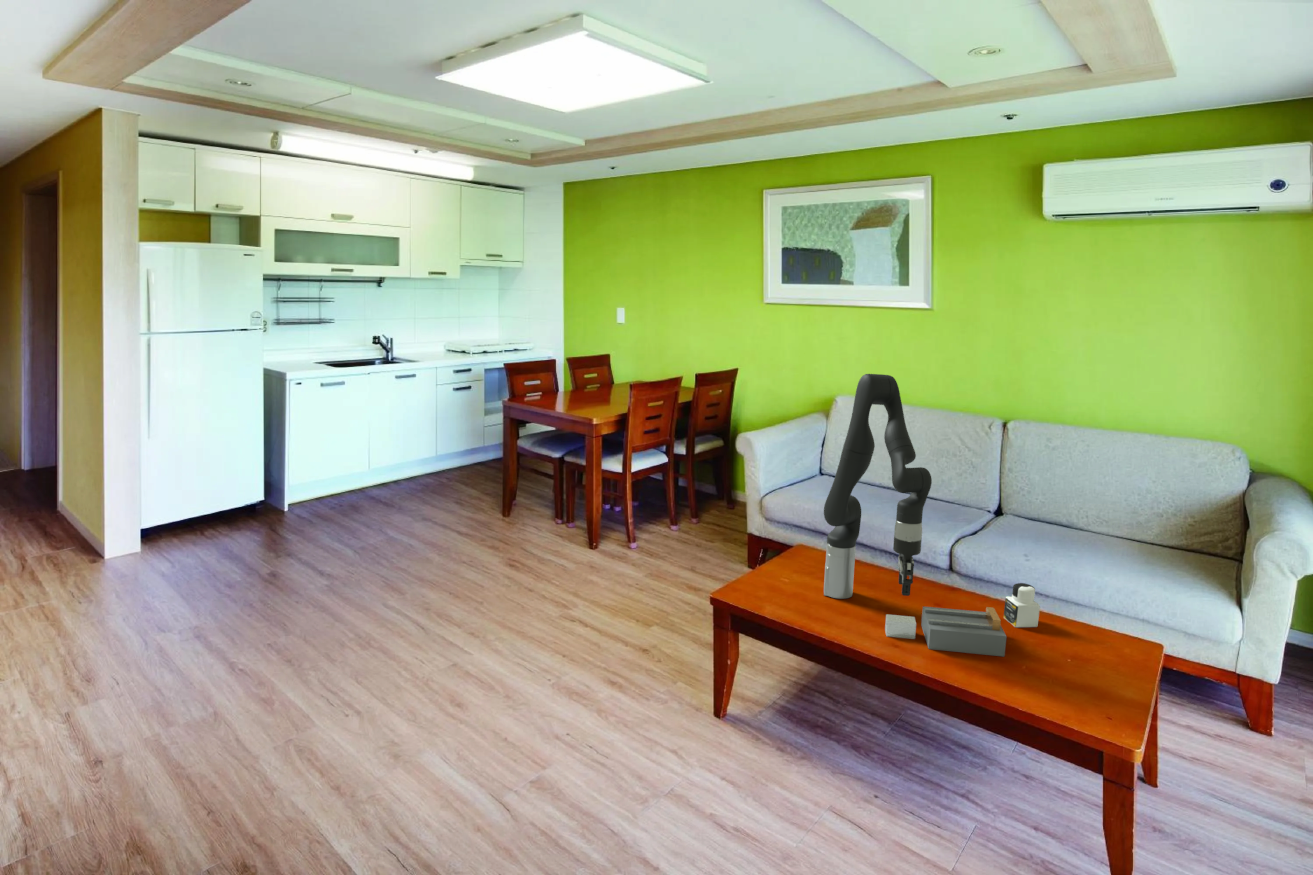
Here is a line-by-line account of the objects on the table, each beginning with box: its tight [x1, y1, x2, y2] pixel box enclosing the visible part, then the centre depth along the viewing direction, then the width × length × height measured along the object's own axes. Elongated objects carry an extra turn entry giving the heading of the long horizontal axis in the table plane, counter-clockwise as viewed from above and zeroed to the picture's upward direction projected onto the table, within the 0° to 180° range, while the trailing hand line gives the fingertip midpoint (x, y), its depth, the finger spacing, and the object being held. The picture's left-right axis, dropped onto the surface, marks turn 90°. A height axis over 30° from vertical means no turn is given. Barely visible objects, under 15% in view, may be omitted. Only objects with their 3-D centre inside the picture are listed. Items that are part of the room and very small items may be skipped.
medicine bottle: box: [1003, 582, 1041, 628], centre depth 234 cm, size 7×7×12 cm
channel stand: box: [920, 606, 1007, 657], centre depth 222 cm, size 20×16×9 cm
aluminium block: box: [884, 614, 917, 640], centre depth 226 cm, size 8×5×5 cm, turn 78°
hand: (904, 589), depth 224 cm, fingers open, 8 cm apart
